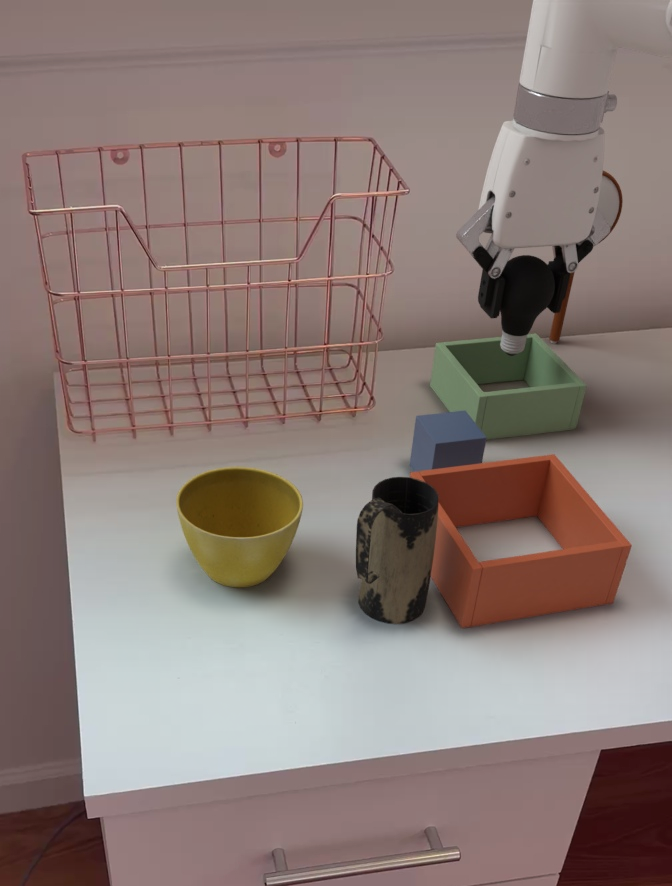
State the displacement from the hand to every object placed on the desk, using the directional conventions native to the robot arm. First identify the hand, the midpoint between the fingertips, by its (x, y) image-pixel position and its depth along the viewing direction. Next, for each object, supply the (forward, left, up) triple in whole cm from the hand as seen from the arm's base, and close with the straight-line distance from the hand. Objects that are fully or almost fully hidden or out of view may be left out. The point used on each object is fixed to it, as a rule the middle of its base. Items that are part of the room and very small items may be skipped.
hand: (519, 308), depth 101 cm
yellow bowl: (+33, +20, -12) cm, 40 cm away
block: (+11, +11, -11) cm, 19 cm away
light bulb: (0, 0, -5) cm, 5 cm away
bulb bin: (0, 0, -11) cm, 11 cm away
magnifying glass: (-13, -13, -12) cm, 21 cm away
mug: (+23, +28, -12) cm, 38 cm away
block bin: (+11, +25, -11) cm, 30 cm away
